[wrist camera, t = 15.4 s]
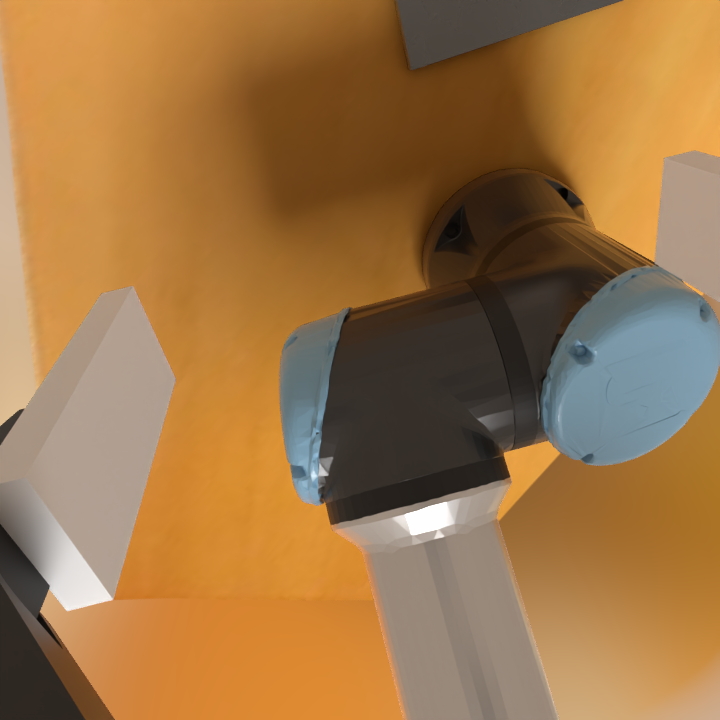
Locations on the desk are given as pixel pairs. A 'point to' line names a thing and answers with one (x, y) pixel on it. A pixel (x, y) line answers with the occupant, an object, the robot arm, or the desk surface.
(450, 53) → the collar stand
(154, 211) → the desk surface
